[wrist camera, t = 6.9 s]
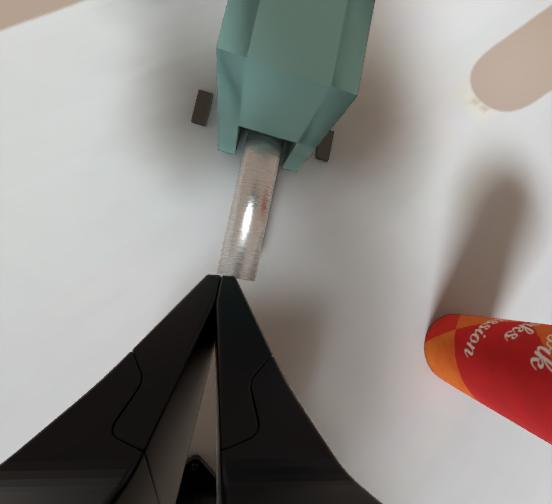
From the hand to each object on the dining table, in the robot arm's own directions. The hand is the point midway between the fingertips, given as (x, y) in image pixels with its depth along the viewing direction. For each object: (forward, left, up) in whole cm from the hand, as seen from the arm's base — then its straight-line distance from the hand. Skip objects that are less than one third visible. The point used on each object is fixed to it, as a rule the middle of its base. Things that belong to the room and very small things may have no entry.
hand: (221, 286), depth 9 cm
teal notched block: (+7, -10, -12) cm, 17 cm away
